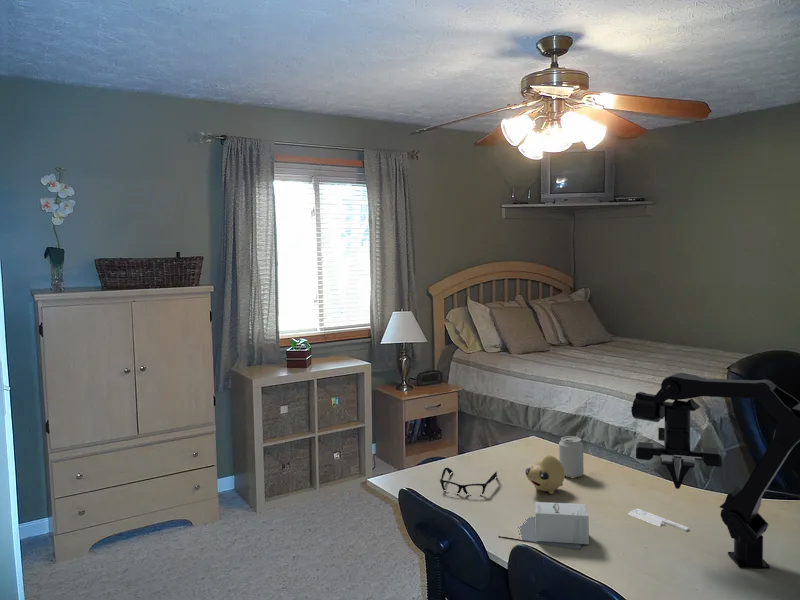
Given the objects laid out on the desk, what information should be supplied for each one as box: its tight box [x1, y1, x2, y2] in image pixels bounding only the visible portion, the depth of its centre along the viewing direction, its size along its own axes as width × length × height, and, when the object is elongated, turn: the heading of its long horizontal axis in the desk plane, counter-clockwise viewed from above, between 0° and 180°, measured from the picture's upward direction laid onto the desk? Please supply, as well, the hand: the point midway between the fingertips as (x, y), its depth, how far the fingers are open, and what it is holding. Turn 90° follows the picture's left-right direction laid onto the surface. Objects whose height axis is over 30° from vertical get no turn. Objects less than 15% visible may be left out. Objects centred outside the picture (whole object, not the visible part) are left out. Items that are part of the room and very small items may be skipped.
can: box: [558, 435, 585, 478], centre depth 192 cm, size 8×8×12 cm
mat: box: [518, 516, 583, 551], centre depth 154 cm, size 20×14×1 cm
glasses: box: [439, 467, 498, 495], centre depth 187 cm, size 17×18×5 cm
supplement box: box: [534, 501, 590, 545], centre depth 150 cm, size 7×7×13 cm
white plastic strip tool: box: [627, 508, 690, 532], centre depth 157 cm, size 5×15×1 cm, turn 33°
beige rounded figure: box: [525, 454, 566, 495], centre depth 180 cm, size 10×12×11 cm
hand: (677, 488), depth 146 cm, fingers closed
